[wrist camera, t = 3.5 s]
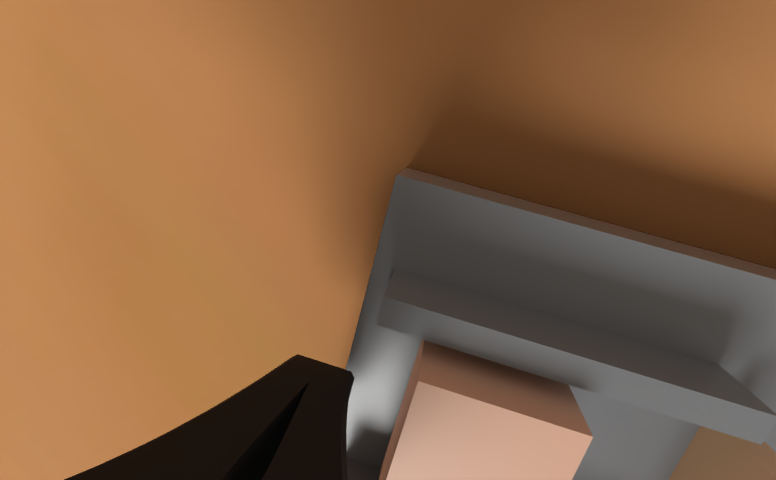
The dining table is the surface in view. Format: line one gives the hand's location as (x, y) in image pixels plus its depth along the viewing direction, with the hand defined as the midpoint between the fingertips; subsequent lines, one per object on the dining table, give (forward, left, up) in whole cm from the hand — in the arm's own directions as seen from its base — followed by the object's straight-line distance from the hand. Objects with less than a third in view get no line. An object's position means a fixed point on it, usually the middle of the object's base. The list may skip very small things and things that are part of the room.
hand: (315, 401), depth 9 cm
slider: (0, -3, -1) cm, 3 cm away
